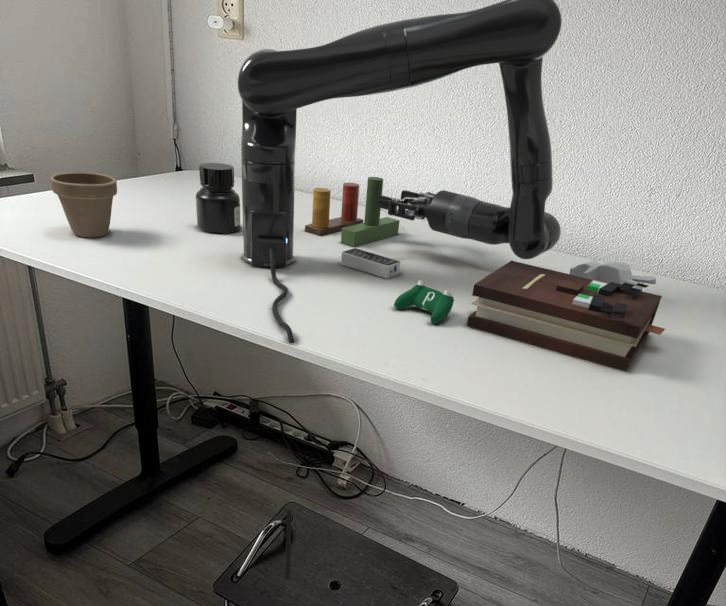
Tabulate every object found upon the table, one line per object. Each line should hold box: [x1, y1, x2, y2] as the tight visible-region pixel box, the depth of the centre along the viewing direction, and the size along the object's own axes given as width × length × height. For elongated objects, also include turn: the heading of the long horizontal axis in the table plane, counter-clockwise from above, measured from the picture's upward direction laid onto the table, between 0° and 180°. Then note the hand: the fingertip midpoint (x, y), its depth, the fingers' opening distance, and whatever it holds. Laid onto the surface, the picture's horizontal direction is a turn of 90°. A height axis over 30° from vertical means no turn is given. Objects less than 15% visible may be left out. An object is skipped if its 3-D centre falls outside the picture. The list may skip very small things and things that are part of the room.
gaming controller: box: [393, 279, 455, 325], centre depth 107 cm, size 9×4×6 cm
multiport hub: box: [340, 247, 401, 279], centre depth 124 cm, size 4×11×2 cm, turn 53°
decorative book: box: [466, 260, 666, 372], centre depth 105 cm, size 19×8×30 cm
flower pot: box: [50, 172, 118, 238], centre depth 126 cm, size 12×11×10 cm
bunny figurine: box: [569, 260, 657, 291], centre depth 125 cm, size 10×5×15 cm
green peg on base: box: [340, 176, 401, 248], centre depth 139 cm, size 16×4×12 cm, turn 143°
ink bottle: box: [195, 162, 242, 234], centre depth 136 cm, size 10×9×12 cm
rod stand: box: [304, 182, 364, 237], centre depth 144 cm, size 15×4×8 cm, turn 143°
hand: (390, 198), depth 135 cm, fingers open, 8 cm apart
